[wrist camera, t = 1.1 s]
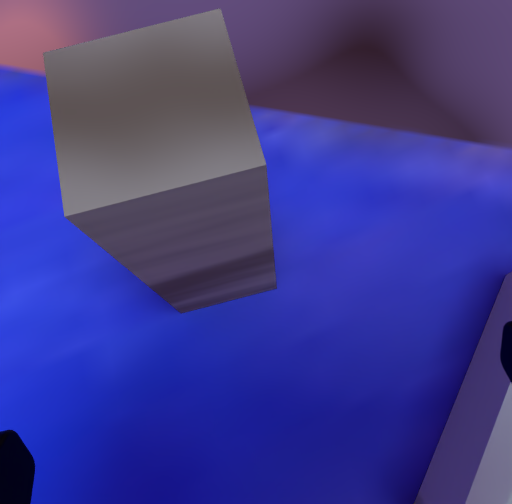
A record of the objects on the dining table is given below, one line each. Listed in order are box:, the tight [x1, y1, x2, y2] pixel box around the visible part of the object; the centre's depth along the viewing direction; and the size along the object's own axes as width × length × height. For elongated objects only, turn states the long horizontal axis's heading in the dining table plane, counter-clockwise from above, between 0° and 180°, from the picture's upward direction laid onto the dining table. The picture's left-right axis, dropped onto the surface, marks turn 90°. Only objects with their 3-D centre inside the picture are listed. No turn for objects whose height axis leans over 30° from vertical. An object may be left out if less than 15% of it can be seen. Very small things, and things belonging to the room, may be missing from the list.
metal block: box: [43, 9, 277, 313], centre depth 18 cm, size 5×5×13 cm
